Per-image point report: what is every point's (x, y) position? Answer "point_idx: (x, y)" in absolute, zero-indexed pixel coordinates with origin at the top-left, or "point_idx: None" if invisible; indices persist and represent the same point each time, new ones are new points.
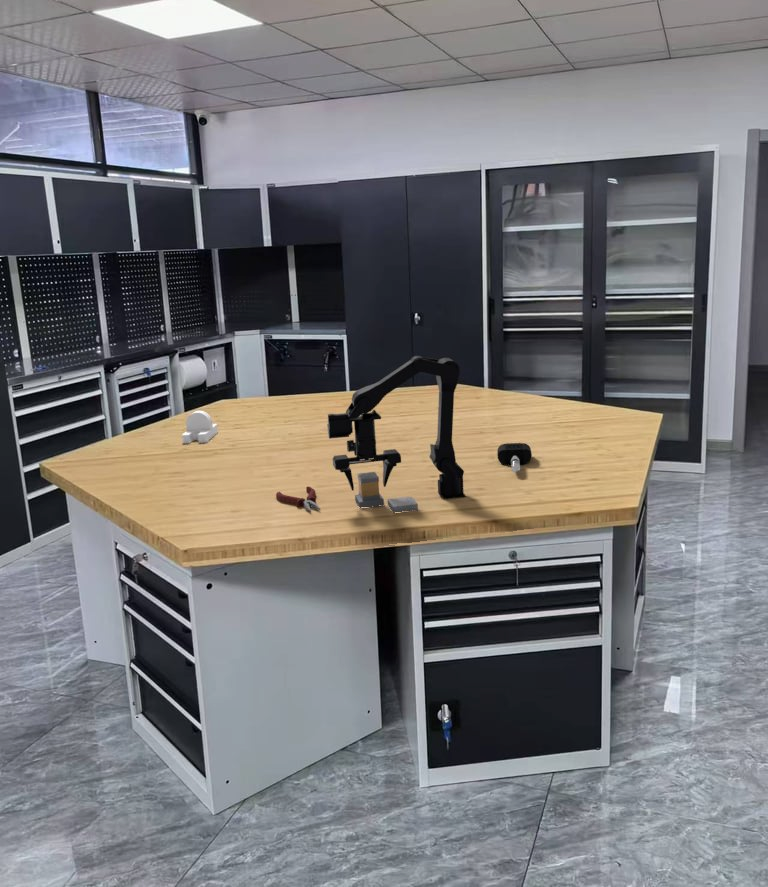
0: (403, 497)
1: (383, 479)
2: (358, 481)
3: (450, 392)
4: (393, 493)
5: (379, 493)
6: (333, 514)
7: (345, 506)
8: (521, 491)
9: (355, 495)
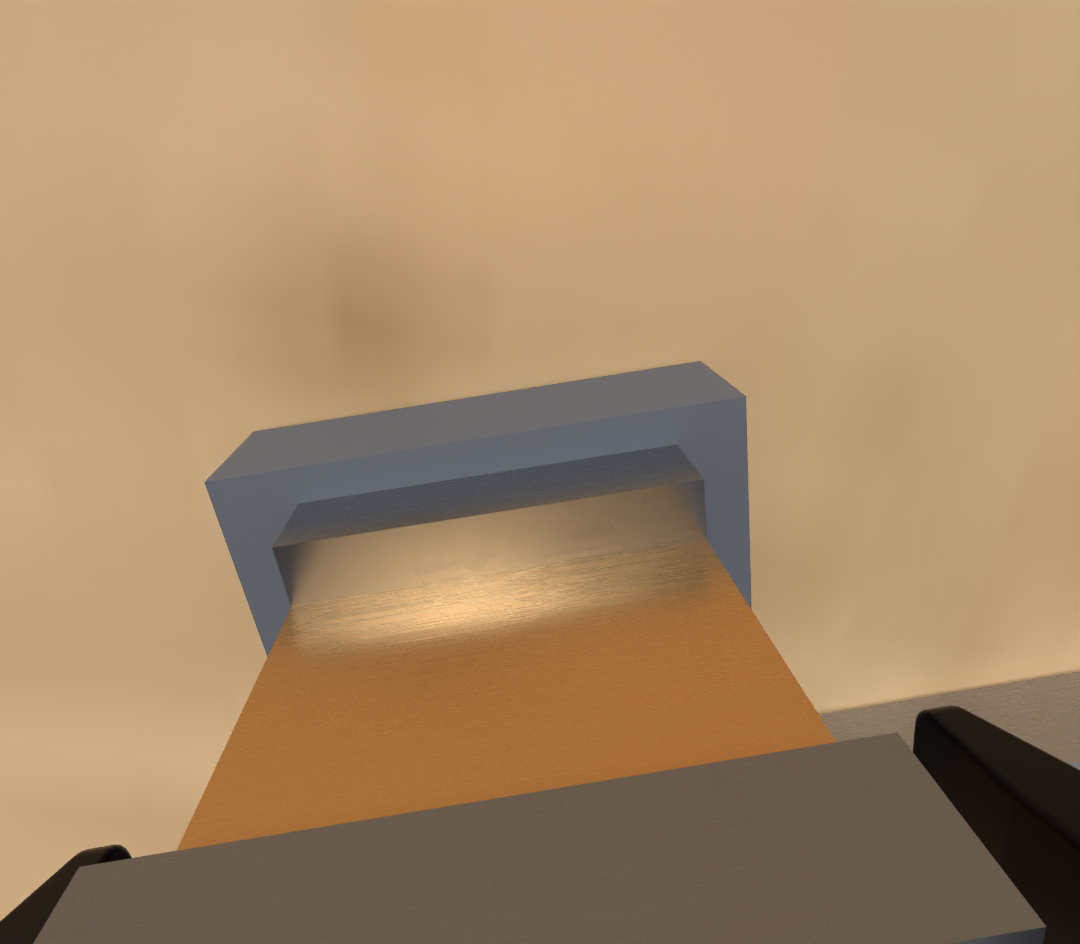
0: (1076, 767)
1: (1062, 909)
2: (188, 841)
3: None
4: (1041, 76)
5: (743, 498)
6: (5, 899)
7: (111, 639)
8: None
9: (222, 525)
